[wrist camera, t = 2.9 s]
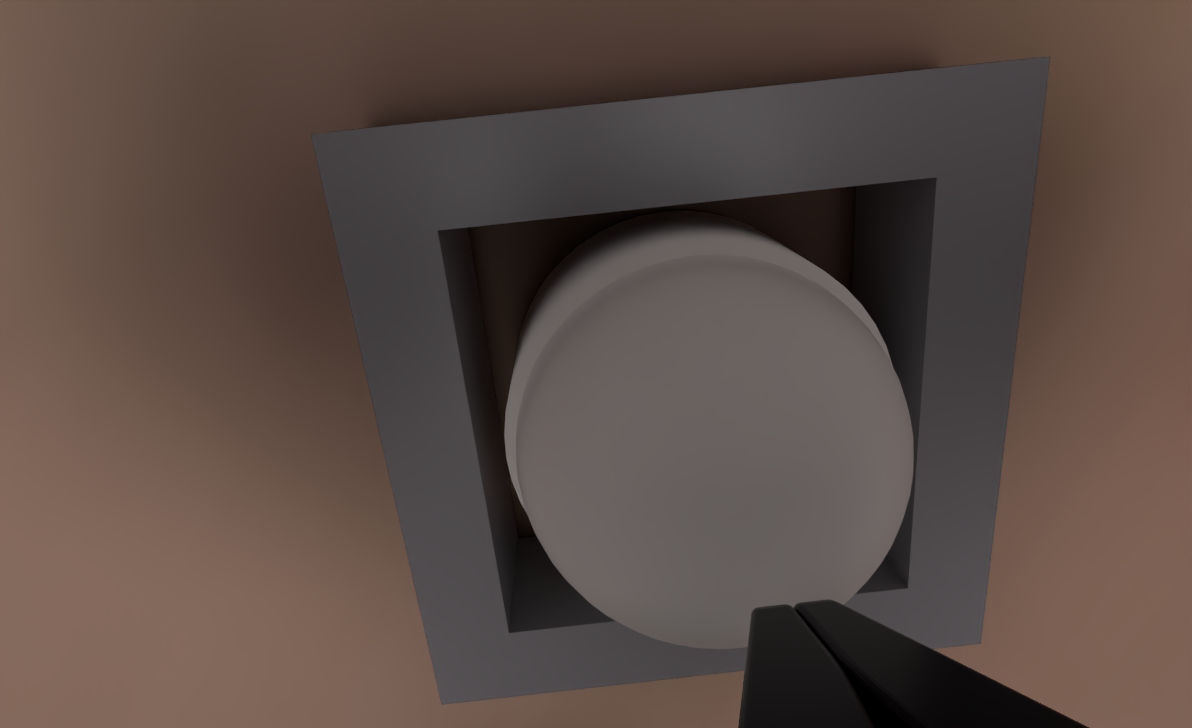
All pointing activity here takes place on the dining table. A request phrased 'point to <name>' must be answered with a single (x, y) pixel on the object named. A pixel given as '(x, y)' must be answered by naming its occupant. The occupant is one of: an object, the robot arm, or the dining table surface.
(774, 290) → the dome button
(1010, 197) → the dome housing
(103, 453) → the dining table surface
